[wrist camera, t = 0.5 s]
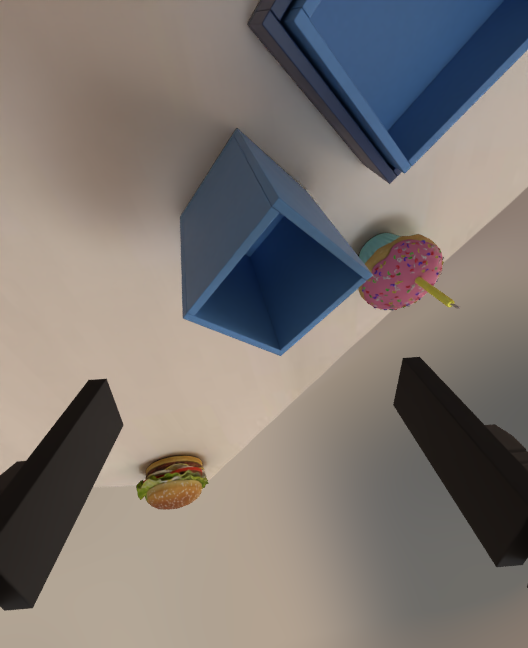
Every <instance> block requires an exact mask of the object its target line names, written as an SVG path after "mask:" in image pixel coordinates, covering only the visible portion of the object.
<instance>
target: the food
mask: <svg viewBox="0 0 528 648" xmlns="http://www.w3.org/2000/svg"><path fill="white" fill-rule="evenodd" d="M207 481H208V480H207V478H206V474H205V471H204V468H203V467H202V462H201V460H200V459H198V458H196V457H191V456H174V457H168V458H164V459H161V460H159V461H157V462H155V463H152V464H151V465H150V466H149V467H148V468H147V470H146V480H145V481H143V480H142V481H140V482H139V483H138V484H137V486H136V488H137V492H138V497H139V498H140V500H141V499H142V498H143V497H144V496H145V498H146V500H147V502H148V503H149V504H150V505H151V506H153V507H155V508H158V509H177V508H180V507H183V506H186V505H188V504H190V503H192V502H193V501H194V500H196V499H197V498H198V497H199V495H200V494H201V489H203V488H204V487H205V485H206V484H208V482H207Z"/></svg>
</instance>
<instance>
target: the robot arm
mask: <svg viewBox="0 0 528 648" xmlns="http://www.w3.org/2000/svg"><path fill="white" fill-rule="evenodd" d="M393 405H394V407H395V408H396V410H397V412H398V413H399V415H400V416H401V418H402V419H403V421H404V423H405V424H406V426H407V427H408V429H409V430H410V432H411V433H412V435H413V437H414V438H415V440H416V441H417V443H418V444H419V446H420V448H421V449H422V451H423V452H424V454H425V456H426V457H427V459H428V460H429V462H430V463H431V465H432V467H433V468H434V470H435V471H436V473H437V474H438V476H439V477H440V479H441V481H442V482H443V484H444V485H445V487H446V489H447V490H448V492H449V493H450V495H451V496H452V498H453V500H454V501H455V503H456V504H457V506H458V507H459V509H460V511H461V512H462V514H463V515H464V517H465V518H466V520H467V522H468V523H469V525H470V526H471V528H472V529H473V531H474V533H475V534H476V536H477V537H478V539H479V540H480V542H481V543H482V545H483V547H484V548H485V549H486V551H487V553H488V555H489V556H490V558H491V559H492V561H493V562H494V564H495V566H496V567H503V566H516V565H523V563H524V562H525V561H526V559H527V558H528V452H527V451H526V449H525V448H524V447H523V446H522V445H521V444H520V443H519V442H518V441H517V440H516V439H515V438H514V437H513V436H512V435H511V434H509V433H508V432H506V431H504V430H503V429H501V428H500V427H498V426H497V425H484V424H483V423H482V422H481V421H480V420H479V419H478V418H477V417H476V416H475V415H474V414H473V412H471V410H470V409H469V408H468V407H467V406H466V405H465V404H464V403H463V402H462V401H461V400H460V399H459V398H458V397H457V396H456V395H455V394H454V392H453V391H452V390H451V389H450V388H449V387H448V386H447V385H446V384H445V383H444V382H443V381H442V380H441V379H440V378H439V377H438V376H437V375H436V374H435V372H434V371H433V370H432V369H431V368H430V367H429V366H428V365H427V364H426V363H425V362H424V361H423V360H422V359H421V358H420V357H412V358H403V360H402V365H401V370H400V375H399V380H398V384H397V389H396V394H395V399H394V404H393ZM122 427H123V422H122V420H121V417H120V414H119V411H118V409H117V406H116V403H115V401H114V398H113V395H112V392H111V390H110V387H109V384H108V382H107V379H97V380H88V382H87V383H86V384H85V386H84V387H83V388H82V389H81V391H80V392H79V393H78V395H77V396H76V397H75V398H74V400H73V401H72V402H71V404H70V405H69V406H68V408H67V409H66V410H65V411H64V413H63V414H62V415H61V417H60V418H59V419H58V420H57V422H56V423H55V424H54V426H53V427H52V428H51V430H50V431H49V432H48V433H47V435H46V436H45V437H44V439H43V440H42V441H41V442H40V444H39V445H38V446H37V448H36V449H35V450H34V451H33V453H32V454H31V455H30V457H29V458H28V459H27V461H19V462H16V463H15V464H14V465H12V466H11V467H10V468H9V469H7V470H6V471H5V472H4V473H3V474H1V475H0V607H2V609H3V610H16V609H28V608H33V606H34V604H35V602H36V600H37V598H38V596H39V594H40V592H41V590H42V588H43V586H44V584H45V582H46V580H47V578H48V576H49V574H50V572H51V570H52V568H53V566H54V564H55V562H56V560H57V558H58V556H59V554H60V552H61V550H62V548H63V546H64V544H65V542H66V540H67V538H68V536H69V534H70V532H71V530H72V528H73V526H74V524H75V522H76V520H77V518H78V516H79V514H80V512H81V509H82V508H83V506H84V504H85V502H86V500H87V497H88V495H89V493H90V491H91V489H92V487H93V485H94V483H95V481H96V479H97V477H98V475H99V473H100V471H101V469H102V467H103V465H104V463H105V461H106V459H107V457H108V455H109V453H110V451H111V449H112V447H113V445H114V443H115V441H116V439H117V437H118V435H119V433H120V431H121V429H122ZM527 588H528V585H527Z"/></svg>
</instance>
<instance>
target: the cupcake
mask: <svg viewBox="0 0 528 648" xmlns="http://www.w3.org/2000/svg"><path fill="white" fill-rule="evenodd" d="M359 258H360V259H361V260H362V262H363V263H364V264H365V265H366V267H367V268H368V269H369V270H370V272H371V273H372V274H373V276H372V277H371V278H369V279H368V280H366V282H365V283H364V284H362V285H361V286H360V287H359V288H358V289H359V292H360V295H361V297H362V298H363V299H364V300H365V301H367V303H368V304H370V305H372V306H373V307H374V308H379V309H384V310H385V309H386V310H387V309H389V310H397V309H398V308H402V307H403V308H404V307H406V306H410V304H412V303H415V302H417V300H420V298H421V297H423V296H424V295H425V294H426V293H427V292H429V293H430V294H431V295H433V296H434V297H435V298H437V299H438V300H439V301H441V302H442V303H443V304H445V305H446V306H447V307H452V306H454V307H455V308H457V309H459V308H460V307H458V306H457V305H455V304H454V301H453V300H452V299H450V298H449V297H448V296H446V295H445V294H444V293H442V292H441V291H439V290H438V289H436V288H435V287H434V284H435V282H437V280H438V277H439V275H441V274H440V273H441V271H442V270H441V269H442V265H443V263H442V262H443V261H442V260H443V259H444V257H442V253H441V251H440V249H439V248H438V246H437V245H436V244H435V243H434V242H433V241H432V240H430V239H428V238H426V237H424V236H422V235H419V234H416V235H412V236H401V237H400V236H397V235H394V234H391V233H383V234H379V235H377V236H375V237H373V238H372V239H370V240H369V241H368V242H367V243H366V244H365V245H364V246H363V248H362V249H361V251H360V254H359Z"/></svg>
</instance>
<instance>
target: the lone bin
mask: <svg viewBox="0 0 528 648" xmlns="http://www.w3.org/2000/svg"><path fill="white" fill-rule="evenodd" d="M180 234H181V270H182V306H183V319H186V320H189V321H191V322H194V323H196V324H199V325H201V326H204V327H207V328H209V329H212V330H214V331H217V332H220V333H222V334H225V335H227V336H230V337H233V338H235V339H238V340H240V341H243V342H246V343H248V344H251V345H253V346H256V347H259V348H261V349H264V350H266V351H269V352H272V353H274V354H277V355H279V356H281V355H282V354H284V353H285V352H286V351H287V350H288V349H289V348H290V347H292V346H293V345H294V344H295V343H296V342H297V341H298V340H300V339H301V338H302V337H303V336H304V335H305V334H306V333H308V332H309V331H310V330H311V329H312V328H313V327H314V326H316V325H317V324H318V323H319V322H320V321H321V320H322V319H324V318H325V317H326V316H327V315H328V314H329V313H330V312H332V311H333V310H334V309H335V308H336V307H337V306H338V305H340V304H341V303H342V302H343V301H344V300H345V299H346V298H348V297H349V296H350V295H351V294H352V293H353V292H354V291H356V290H357V289H358V288H359V287H360V286H361V285H362V284H364V283H365V282H366V280H368V279H369V278H371V277H372V276H373V274H372V273H371V272H370V270H369V269H368V268H367V267H366V265H365V264H364V263H363V262H362V260H361V259H360V258H359V257H358V255H357V254H356V253H355V252H354V250H353V249H352V248H351V246H350V245H349V244H348V243H347V241H346V240H345V239H344V238H343V236H342V235H341V234H340V233H339V231H338V230H337V229H336V228H335V226H334V225H333V224H332V223H331V221H330V220H329V219H328V218H327V216H326V215H325V214H324V212H323V211H322V210H321V209H320V207H319V206H318V205H317V204H316V202H315V201H314V200H313V199H312V197H311V196H310V195H309V194H308V192H307V191H306V190H305V189H304V188H303V187H301V186H300V185H299V184H298V183H297V182H296V181H295V180H294V179H293V178H292V177H290V176H289V175H288V174H287V173H286V172H285V171H284V170H283V169H282V168H281V167H279V166H278V165H277V164H276V163H275V162H274V161H273V160H272V159H271V158H270V157H269V156H267V155H266V154H265V153H264V152H263V151H262V150H261V149H260V148H259V147H258V146H256V145H255V144H254V143H253V142H252V141H251V140H250V139H249V138H248V137H247V136H245V135H244V134H243V133H242V132H241V131H240V130H239V129H238V128H236V130H235V131H234V133H233V134H232V136H231V138H230V139H229V141H228V142H227V144H226V146H225V147H224V149H223V150H222V152H221V153H220V155H219V157H218V158H217V160H216V161H215V163H214V164H213V166H212V168H211V169H210V171H209V172H208V174H207V175H206V177H205V179H204V180H203V182H202V183H201V185H200V186H199V188H198V190H197V191H196V193H195V194H194V196H193V197H192V199H191V201H190V202H189V204H188V205H187V207H186V208H185V210H184V212H183V213H182V215H181V216H180Z"/></svg>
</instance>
